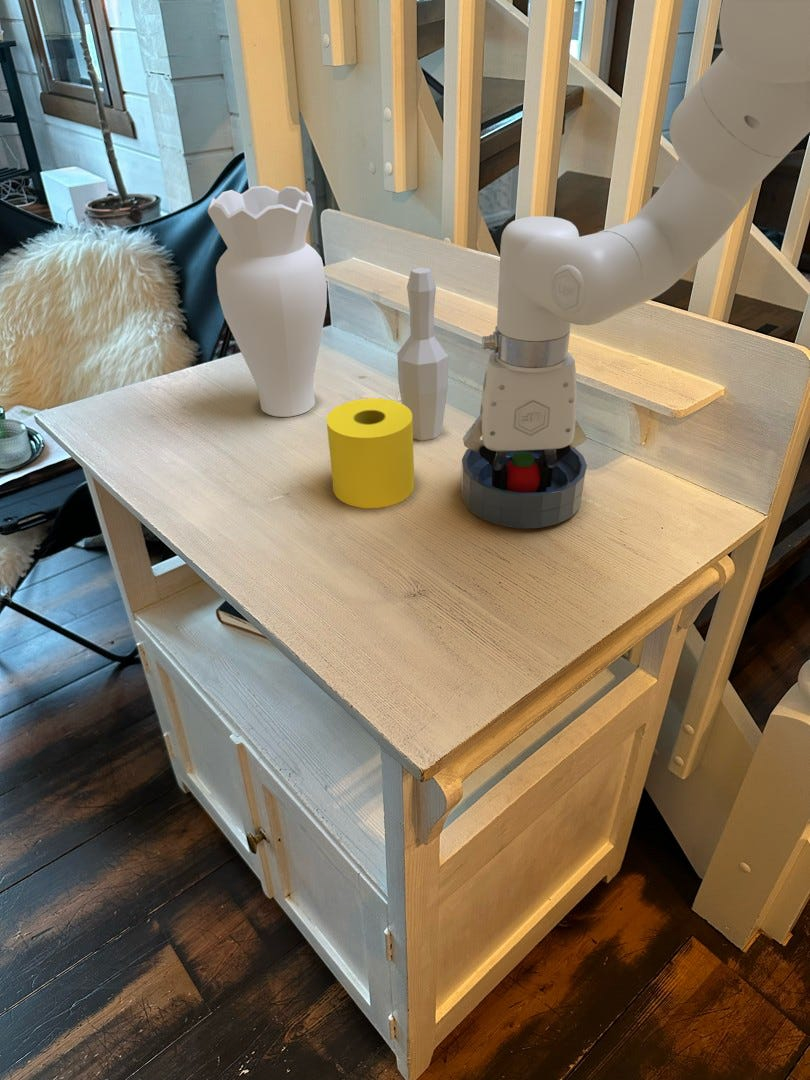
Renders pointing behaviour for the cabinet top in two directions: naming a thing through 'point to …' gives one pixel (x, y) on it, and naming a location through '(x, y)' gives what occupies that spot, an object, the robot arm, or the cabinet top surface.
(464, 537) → the cabinet top surface
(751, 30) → the robot arm
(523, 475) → the toy tomato
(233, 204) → the vase
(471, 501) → the bowl
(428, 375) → the faceted bottle
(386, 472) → the yellow toilet paper roll
